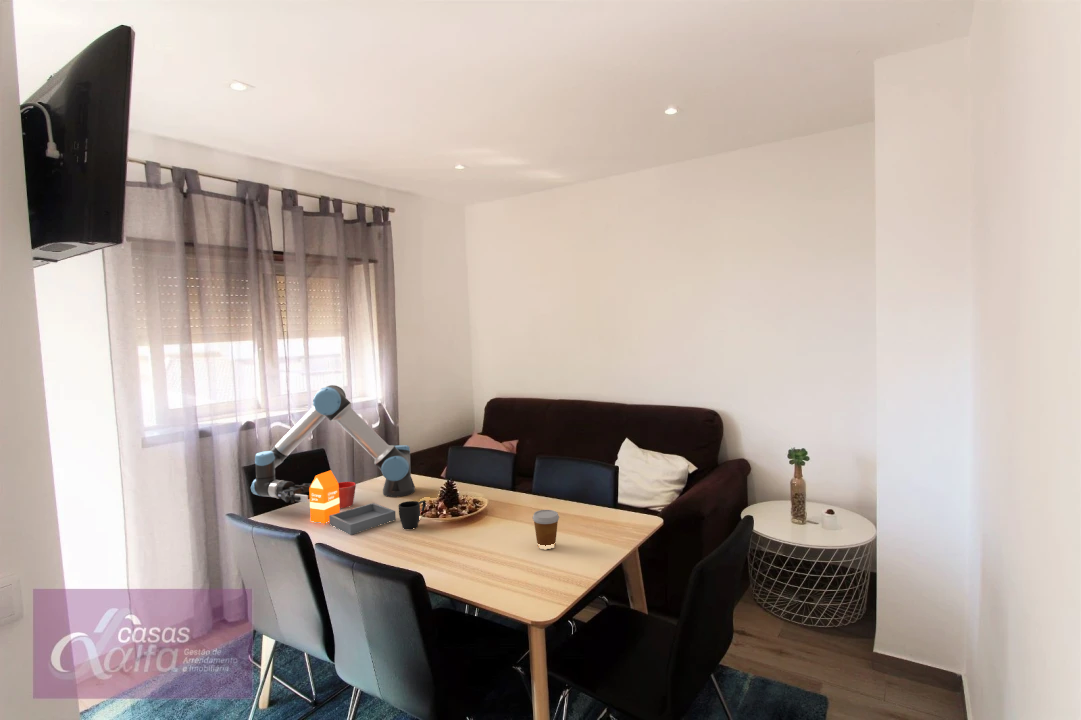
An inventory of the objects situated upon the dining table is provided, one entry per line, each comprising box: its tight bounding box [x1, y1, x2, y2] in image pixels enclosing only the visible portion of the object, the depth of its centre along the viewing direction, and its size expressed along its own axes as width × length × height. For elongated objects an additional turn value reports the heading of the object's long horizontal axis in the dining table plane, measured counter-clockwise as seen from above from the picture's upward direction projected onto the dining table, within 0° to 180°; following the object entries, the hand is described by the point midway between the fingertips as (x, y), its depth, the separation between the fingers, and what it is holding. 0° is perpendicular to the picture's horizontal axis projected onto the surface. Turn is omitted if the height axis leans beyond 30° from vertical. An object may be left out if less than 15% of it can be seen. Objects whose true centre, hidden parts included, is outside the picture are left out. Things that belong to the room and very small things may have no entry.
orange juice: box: [308, 469, 341, 524], centre depth 220 cm, size 8×9×20 cm
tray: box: [328, 502, 397, 536], centre depth 216 cm, size 20×17×4 cm
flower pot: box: [338, 481, 357, 509], centre depth 238 cm, size 11×11×10 cm
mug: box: [398, 500, 427, 530], centre depth 210 cm, size 8×12×10 cm
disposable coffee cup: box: [532, 509, 560, 546], centre depth 187 cm, size 10×10×12 cm
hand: (320, 494), depth 220 cm, fingers open, 13 cm apart
